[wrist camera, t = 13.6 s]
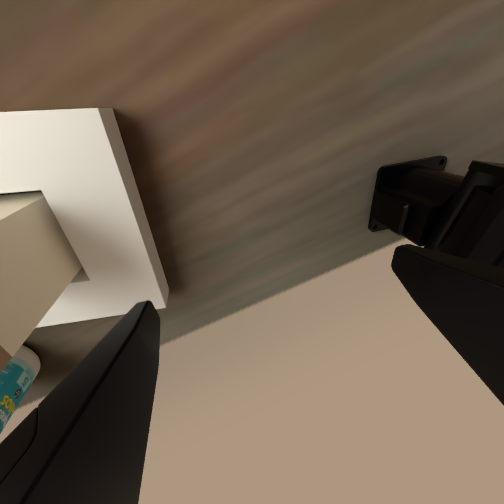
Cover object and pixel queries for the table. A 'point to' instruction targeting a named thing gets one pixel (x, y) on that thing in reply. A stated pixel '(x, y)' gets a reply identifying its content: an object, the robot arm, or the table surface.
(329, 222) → the table surface
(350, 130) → the table surface
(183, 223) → the table surface
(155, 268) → the socket plate
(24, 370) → the pill bottle
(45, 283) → the tan topped cream pillar
